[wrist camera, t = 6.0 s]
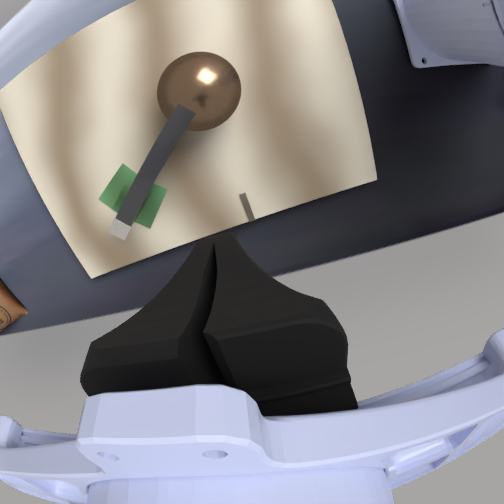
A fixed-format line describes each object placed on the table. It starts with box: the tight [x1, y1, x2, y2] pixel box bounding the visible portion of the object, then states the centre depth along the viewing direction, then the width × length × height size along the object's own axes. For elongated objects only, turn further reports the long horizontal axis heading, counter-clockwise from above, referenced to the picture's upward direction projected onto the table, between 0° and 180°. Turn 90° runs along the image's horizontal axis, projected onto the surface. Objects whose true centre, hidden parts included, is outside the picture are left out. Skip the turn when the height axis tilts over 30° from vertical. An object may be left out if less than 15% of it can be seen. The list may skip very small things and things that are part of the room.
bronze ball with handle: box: [108, 52, 241, 241], centre depth 16 cm, size 11×4×3 cm, turn 145°
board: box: [0, 0, 377, 279], centre depth 17 cm, size 22×16×1 cm
